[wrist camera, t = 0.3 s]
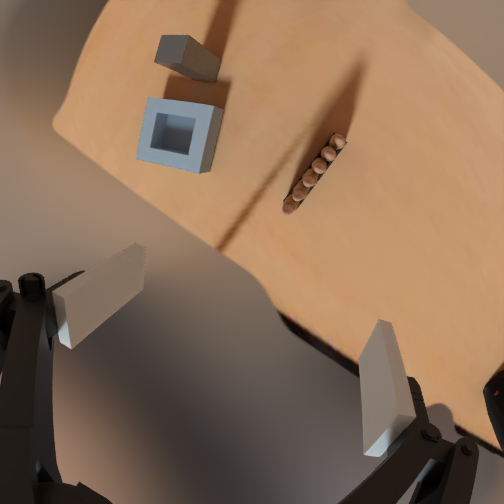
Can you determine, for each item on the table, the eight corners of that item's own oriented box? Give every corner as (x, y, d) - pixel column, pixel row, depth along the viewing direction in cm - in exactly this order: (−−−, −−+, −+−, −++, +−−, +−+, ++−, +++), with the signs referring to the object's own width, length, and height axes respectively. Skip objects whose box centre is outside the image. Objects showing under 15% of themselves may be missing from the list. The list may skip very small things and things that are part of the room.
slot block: (162, 100, 39) (148, 97, 36) (224, 109, 38) (214, 105, 34) (150, 157, 43) (135, 159, 39) (209, 171, 41) (198, 173, 38)
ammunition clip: (333, 133, 36) (338, 125, 25) (345, 142, 36) (354, 137, 25) (286, 197, 40) (271, 214, 29) (297, 205, 40) (287, 226, 29)
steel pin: (199, 58, 36) (162, 35, 26) (221, 60, 36) (189, 35, 26) (193, 79, 37) (154, 62, 27) (215, 82, 37) (180, 63, 27)
